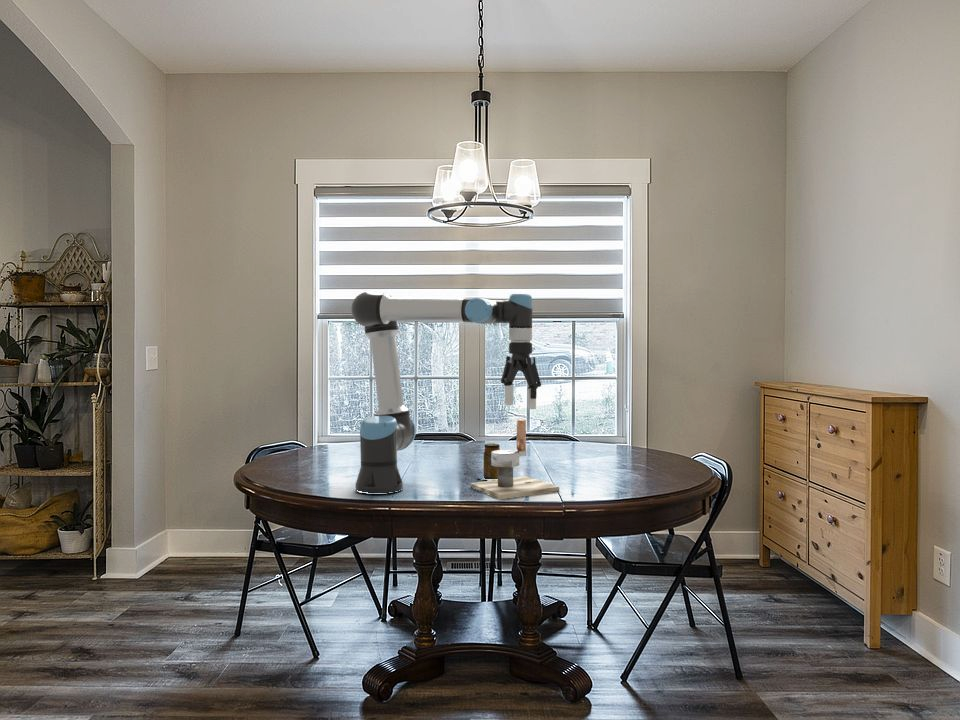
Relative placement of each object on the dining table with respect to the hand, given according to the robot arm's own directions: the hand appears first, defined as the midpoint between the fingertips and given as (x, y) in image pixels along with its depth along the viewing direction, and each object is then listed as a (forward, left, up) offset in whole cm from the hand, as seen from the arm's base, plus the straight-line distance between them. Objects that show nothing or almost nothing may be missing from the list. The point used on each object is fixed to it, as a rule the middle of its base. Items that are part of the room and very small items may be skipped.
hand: (520, 407), depth 222 cm
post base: (+1, -3, -26) cm, 27 cm away
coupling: (0, -4, -18) cm, 19 cm away
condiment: (-18, -1, -27) cm, 32 cm away
